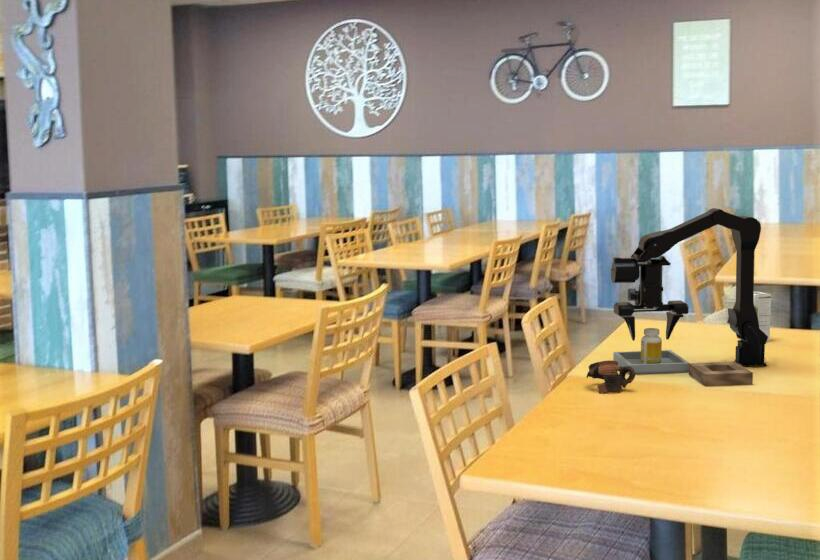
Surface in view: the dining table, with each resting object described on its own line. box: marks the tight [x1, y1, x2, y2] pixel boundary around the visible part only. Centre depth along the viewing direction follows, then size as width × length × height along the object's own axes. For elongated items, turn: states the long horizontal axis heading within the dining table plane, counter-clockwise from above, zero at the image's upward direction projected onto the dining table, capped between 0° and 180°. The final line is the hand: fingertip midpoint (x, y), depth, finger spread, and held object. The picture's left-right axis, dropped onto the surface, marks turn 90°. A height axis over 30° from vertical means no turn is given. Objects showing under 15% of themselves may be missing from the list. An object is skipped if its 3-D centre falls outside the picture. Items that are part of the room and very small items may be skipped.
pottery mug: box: [585, 359, 637, 394], centre depth 240 cm, size 12×10×8 cm
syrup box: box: [754, 291, 772, 343], centre depth 290 cm, size 6×6×14 cm
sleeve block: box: [688, 361, 754, 387], centre depth 247 cm, size 12×12×3 cm
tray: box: [612, 349, 690, 376], centre depth 262 cm, size 16×16×2 cm
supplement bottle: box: [640, 327, 663, 364], centre depth 261 cm, size 5×5×10 cm
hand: (650, 339), depth 261 cm, fingers open, 9 cm apart
